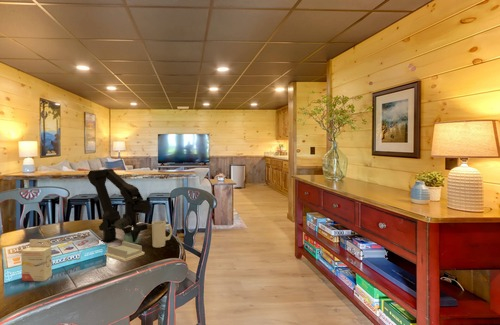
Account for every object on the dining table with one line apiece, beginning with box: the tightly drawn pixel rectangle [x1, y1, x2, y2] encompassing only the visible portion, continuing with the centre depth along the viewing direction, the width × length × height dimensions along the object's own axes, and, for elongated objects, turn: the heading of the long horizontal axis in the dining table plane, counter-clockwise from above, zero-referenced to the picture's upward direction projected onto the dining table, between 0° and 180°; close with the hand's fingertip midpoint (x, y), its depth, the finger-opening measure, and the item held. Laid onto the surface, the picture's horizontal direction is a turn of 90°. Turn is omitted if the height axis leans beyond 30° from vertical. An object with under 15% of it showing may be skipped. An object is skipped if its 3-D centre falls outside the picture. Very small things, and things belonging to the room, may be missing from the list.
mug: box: [151, 220, 173, 249], centre depth 157 cm, size 10×7×12 cm, turn 103°
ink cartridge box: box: [20, 238, 53, 282], centre depth 116 cm, size 9×5×15 cm, turn 92°
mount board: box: [104, 240, 145, 263], centre depth 143 cm, size 14×11×4 cm
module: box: [123, 232, 140, 244], centre depth 158 cm, size 6×4×6 cm, turn 150°
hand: (131, 241), depth 158 cm, fingers closed on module, 4 cm apart
